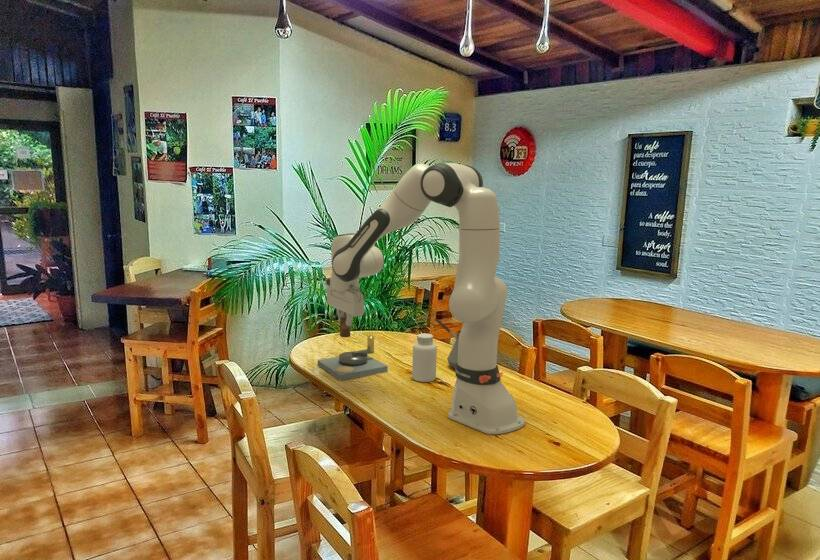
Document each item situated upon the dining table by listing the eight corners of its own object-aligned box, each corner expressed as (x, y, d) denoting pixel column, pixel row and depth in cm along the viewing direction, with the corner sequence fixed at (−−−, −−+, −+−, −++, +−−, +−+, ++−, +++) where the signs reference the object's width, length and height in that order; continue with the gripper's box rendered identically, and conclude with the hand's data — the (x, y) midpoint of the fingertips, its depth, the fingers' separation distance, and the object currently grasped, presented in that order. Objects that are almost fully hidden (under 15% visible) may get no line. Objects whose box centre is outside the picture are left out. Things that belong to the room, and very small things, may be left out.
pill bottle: (426, 384, 185) (427, 340, 182) (407, 378, 190) (408, 335, 187) (440, 378, 191) (441, 334, 188) (421, 372, 196) (422, 330, 193)
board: (387, 371, 196) (387, 364, 196) (340, 381, 186) (340, 374, 186) (362, 357, 211) (362, 351, 211) (317, 365, 201) (317, 358, 201)
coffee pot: (486, 368, 201) (488, 327, 199) (463, 375, 194) (464, 332, 191) (444, 353, 217) (446, 315, 215) (422, 359, 210) (423, 320, 208)
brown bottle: (352, 336, 188) (352, 310, 187) (342, 337, 186) (342, 311, 185) (347, 333, 191) (347, 308, 189) (338, 335, 189) (338, 309, 188)
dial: (380, 361, 200) (380, 339, 199) (347, 367, 193) (347, 344, 191) (366, 353, 208) (366, 332, 207) (334, 359, 201) (333, 337, 200)
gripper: (369, 287, 179) (369, 329, 181) (339, 277, 195) (340, 316, 198) (351, 289, 175) (351, 332, 178) (323, 278, 192) (323, 318, 194)
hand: (345, 323), depth 188 cm, fingers closed on brown bottle, 3 cm apart
